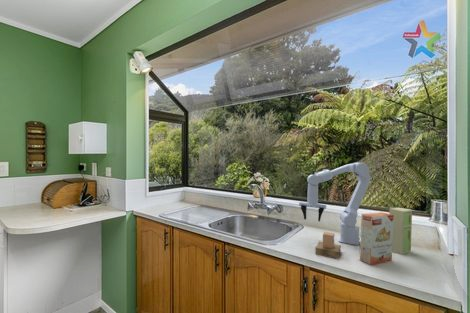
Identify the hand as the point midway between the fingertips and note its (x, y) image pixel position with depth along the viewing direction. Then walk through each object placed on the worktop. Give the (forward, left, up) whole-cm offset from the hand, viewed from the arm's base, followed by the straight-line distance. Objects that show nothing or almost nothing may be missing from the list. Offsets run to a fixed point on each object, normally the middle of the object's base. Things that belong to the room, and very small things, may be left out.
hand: (312, 220), depth 135 cm
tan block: (-11, +17, -7) cm, 21 cm away
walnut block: (-11, +17, -10) cm, 23 cm away
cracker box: (-31, +15, -11) cm, 36 cm away
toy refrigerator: (-42, -5, -11) cm, 44 cm away
